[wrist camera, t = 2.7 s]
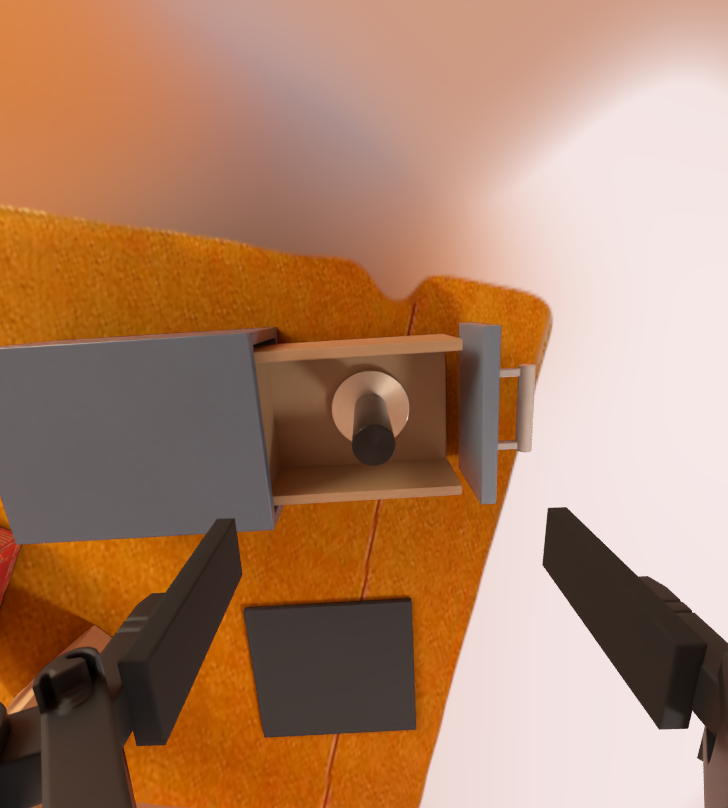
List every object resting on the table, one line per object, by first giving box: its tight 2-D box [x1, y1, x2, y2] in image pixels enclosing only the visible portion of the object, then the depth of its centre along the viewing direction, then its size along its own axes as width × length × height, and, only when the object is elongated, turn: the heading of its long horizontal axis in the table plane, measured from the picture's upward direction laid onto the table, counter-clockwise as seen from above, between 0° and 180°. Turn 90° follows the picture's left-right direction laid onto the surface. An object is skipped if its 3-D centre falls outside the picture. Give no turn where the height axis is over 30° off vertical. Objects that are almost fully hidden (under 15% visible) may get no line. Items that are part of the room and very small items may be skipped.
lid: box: [331, 370, 410, 466], centre depth 29 cm, size 7×7×10 cm
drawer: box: [253, 322, 535, 505], centre depth 31 cm, size 22×14×7 cm, turn 93°
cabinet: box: [0, 327, 284, 545], centre depth 31 cm, size 20×15×9 cm
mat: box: [244, 598, 416, 738], centre depth 43 cm, size 18×18×1 cm
